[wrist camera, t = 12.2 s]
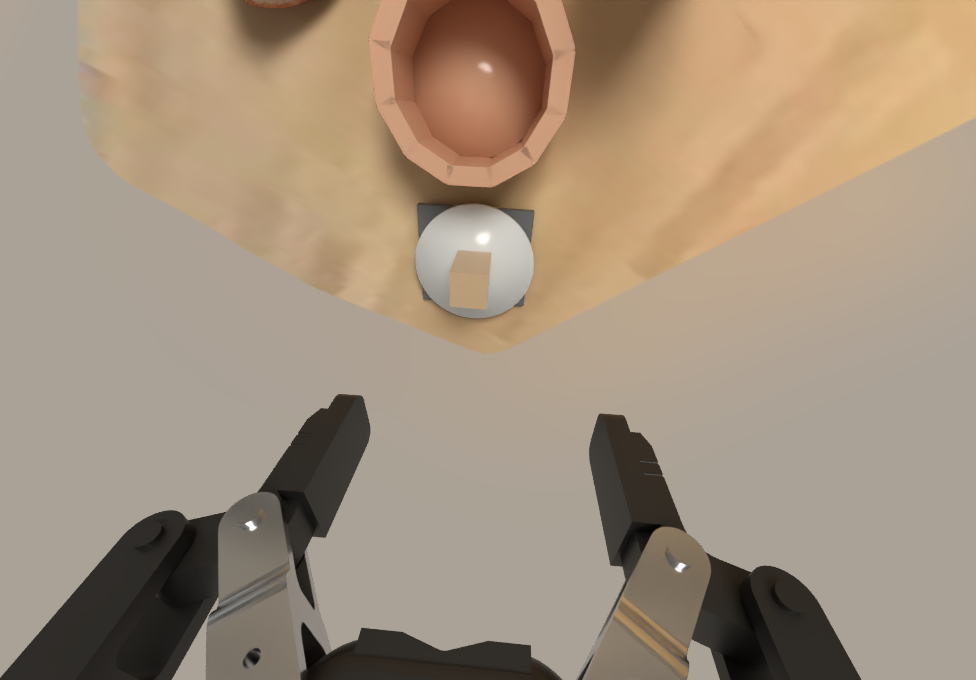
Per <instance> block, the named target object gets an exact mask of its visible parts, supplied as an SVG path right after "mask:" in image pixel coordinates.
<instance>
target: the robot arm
mask: <svg viewBox="0 0 976 680" xmlns="http://www.w3.org/2000/svg"><path fill="white" fill-rule="evenodd" d="M369 436H370V423H369V419H368V415H367V411H366V407H365V403H364V399H363V397H362V396H359V395H345V394H338V395H337V396H336V397H335V399H334V400H333V402H332V403H331V405H330V406H329V408H328V409H323V408H321V409H320V410H318V411H317V412H316V413H315V414H313V415H312V416H311V417H310V418H308V419H307V420H306V422H305V423H304V425H303V426H302V428H301V430H300V431H299V432H298V435H296V437H295V438H294V440H293V441H292V443H291V446H289V447H288V449H287V450H286V452H285V453H284V454H283V456H282V458H281V459H280V460H279V462H278V463H277V465H276V467H275V468H274V469H273V471H272V472H271V474H270V475H269V477H268V478H267V480H266V481H265V483H264V484H263V486H262V487H261V489H260V490H259V491H258V492H257V493H254V494H251V495H248V496H246V497H244V498H242V499H241V500H239V501H238V502H237V503H235V504H234V505H233V506H231V507H230V508H229V510H228V511H227V512H224V513H219V514H215V515H211V516H206V517H201V518H197V519H192V520H187V519H186V518H185V517H184V516H183V514H182V513H180V512H178V511H173V510H169V511H163V512H159V513H156V514H153V515H151V516H149V517H147V518H145V519H143V520H142V521H140V522H138V523H137V524H136V525H134V526H133V527H132V528H131V529H129V530H128V531H127V532H126V533H125V534H124V535H123V536H122V537H121V539H120V540H119V541H118V542H117V543H116V544H115V546H114V547H113V548H112V549H111V550H110V551H109V553H108V554H107V555H106V556H105V557H104V558H103V559H102V561H101V562H100V563H99V564H98V565H97V566H96V568H95V569H94V570H93V571H92V572H91V573H90V574H89V576H88V577H87V578H86V579H85V580H84V581H83V583H82V584H81V585H80V586H79V587H78V588H77V590H76V591H75V592H74V593H73V594H72V595H71V597H70V598H69V599H68V600H67V601H66V602H65V603H64V605H63V606H62V607H61V608H60V609H59V610H58V612H57V613H56V614H55V615H54V616H53V617H52V619H51V620H50V621H49V622H48V623H47V624H46V626H45V627H44V628H43V629H42V630H41V631H40V632H39V634H38V635H37V636H36V637H35V638H34V639H33V641H32V642H31V643H30V644H29V645H28V646H27V648H26V649H25V650H24V651H23V652H22V653H21V654H20V656H19V657H18V658H17V659H16V660H15V662H14V663H13V664H12V665H11V666H10V667H9V668H8V670H7V671H6V672H5V673H4V674H3V675H2V677H1V678H0V680H172V678H173V676H174V675H175V673H176V671H177V669H178V667H179V666H180V664H181V662H182V660H183V659H184V657H185V655H186V653H187V651H188V650H189V648H190V646H191V644H192V642H193V641H194V639H195V637H196V635H197V634H198V632H199V630H200V628H201V626H202V624H203V623H204V621H205V619H206V618H207V615H208V614H209V612H210V610H211V609H212V607H213V605H214V603H215V601H216V600H217V598H218V596H219V603H218V607H217V609H216V610H215V611H213V612H212V613H211V614H210V615H209V618H208V622H207V632H206V636H207V637H206V638H207V639H206V680H562V679H561V678H560V677H559V676H558V675H557V674H556V673H555V672H554V671H552V670H551V669H550V668H549V667H547V666H546V665H545V664H543V663H541V662H540V661H538V660H536V659H534V658H532V657H531V646H530V645H521V644H511V643H502V642H493V641H486V642H482V643H478V644H474V645H469V646H465V647H461V648H457V649H452V650H448V651H441V650H438V649H436V648H434V647H432V646H430V645H428V644H426V643H424V642H422V641H420V640H418V639H416V638H414V637H411V636H409V635H407V634H405V633H403V632H396V631H386V630H377V629H368V628H361V631H360V635H359V638H358V640H356V641H352V642H350V643H347V644H345V645H342V646H340V647H339V648H337V649H335V650H333V651H331V648H330V644H329V640H328V637H327V633H326V629H325V627H324V624H323V622H322V619H321V615H320V612H319V607H318V603H317V597H316V593H315V587H314V582H313V578H312V573H311V568H310V563H309V558H308V554H307V550H306V548H307V546H308V544H309V542H310V540H311V538H312V536H313V537H323V538H324V537H326V535H327V533H328V531H329V528H330V526H331V524H332V522H333V520H334V517H335V515H336V513H337V511H338V508H339V506H340V504H341V502H342V500H343V497H344V495H345V493H346V491H347V488H348V486H349V484H350V482H351V480H352V477H353V475H354V473H355V470H356V468H357V466H358V464H359V462H360V459H361V457H362V455H363V453H364V451H365V448H366V446H367V444H368V441H369ZM589 458H590V465H591V470H592V475H593V480H594V485H595V490H596V495H597V500H598V505H599V510H600V515H601V520H602V525H603V530H604V535H605V540H606V545H607V550H608V555H609V560H610V565H612V566H622V567H623V570H624V575H625V579H626V580H625V582H624V584H623V586H622V588H621V590H620V592H619V594H618V597H617V598H616V601H615V602H614V605H613V607H612V609H611V611H610V613H609V615H608V617H607V619H606V621H605V623H604V625H603V627H602V629H601V631H600V633H599V635H598V638H597V639H596V641H595V644H594V645H593V647H592V649H591V651H590V653H589V655H588V657H587V659H586V661H585V663H584V665H583V667H582V669H581V671H580V673H579V675H578V677H577V679H576V680H687V677H688V672H689V662H688V660H687V651H688V648H689V645H690V641H691V639H692V640H694V641H697V642H698V643H700V644H703V645H705V646H707V647H709V648H710V649H711V652H712V655H713V658H714V662H715V665H716V668H717V671H718V674H719V678H720V680H861V678H860V676H859V675H858V673H857V671H856V670H855V667H854V666H853V664H852V662H851V660H850V658H849V657H848V655H847V653H846V651H845V649H844V648H843V646H842V644H841V642H840V640H839V639H838V637H837V635H836V633H835V631H834V630H833V628H832V626H831V624H830V622H829V620H828V619H827V617H826V615H825V613H824V611H823V610H822V608H821V606H820V604H819V603H818V601H817V600H816V598H815V597H814V595H813V594H812V593H811V592H810V591H809V590H808V588H807V587H806V586H804V585H803V584H802V583H801V582H800V581H799V580H798V579H796V578H795V577H794V576H792V575H791V574H789V573H787V572H785V571H783V570H781V569H779V568H776V567H772V566H760V567H757V568H756V569H755V570H754V571H753V572H749V571H746V570H744V569H741V568H739V567H737V566H734V565H732V564H729V563H727V562H724V561H722V560H719V559H717V558H715V557H713V556H711V555H710V554H708V553H706V552H705V551H704V549H703V548H702V546H701V545H700V544H699V543H698V542H697V541H696V540H695V539H694V538H693V537H691V536H690V535H688V534H687V532H686V531H685V529H684V527H683V525H682V522H681V520H680V517H679V515H678V512H677V509H676V507H675V504H674V502H673V499H672V497H671V494H670V492H669V489H668V486H667V484H666V481H665V479H664V477H663V476H662V471H661V469H660V466H659V465H658V461H657V458H656V456H655V453H654V451H653V448H652V446H651V445H650V444H649V443H648V441H647V440H646V439H645V438H644V437H643V436H642V435H641V433H635V432H630V430H629V427H628V424H627V421H626V419H625V417H624V416H623V415H611V414H599V415H598V418H597V421H596V425H595V428H594V432H593V435H592V438H591V442H590V448H589Z"/></svg>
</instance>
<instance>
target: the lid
mask: <svg viewBox="0 0 976 680" xmlns="http://www.w3.org/2000/svg"><path fill="white" fill-rule="evenodd" d="M415 263H416V270H417V274H418V278H419V280H420V282H421V285H422V286H423V288H424V290H425V291H426V293H427V294H428V295H429V297H430V298H431V299H432V300H433V301H434V302H435V303H437V304H438V305H439V306H440V307H442V308H443V309H445V310H447V311H449V312H451V313H453V314H456V315H458V316H462V317H467V318H488V317H492V316H496V315H499V314H501V313H503V312H505V311H507V310H509V309H510V308H512V307H513V306H514V305H515V304H517V303H518V302H519V301H520V299H521V298H522V297H523V296H524V294H525V293H526V291H527V289H528V288H529V286H530V283H531V280H532V276H533V270H534V259H533V252H532V247H531V244H530V241H529V239H528V237H527V235H526V233H525V231H524V230H523V228H522V227H521V226H520V225H519V223H518V222H517V221H516V220H515V219H514V218H512V217H511V216H510V215H509V214H507V213H505V212H504V211H502V210H500V209H498V208H496V207H493V206H490V205H486V204H480V203H466V204H460V205H456V206H453V207H451V208H448V209H446V210H444V211H443V212H441V213H440V214H438V215H437V216H436V217H435V218H434V219H433V220H432V221H431V222H430V223H429V224H428V225H427V227H426V228H425V230H424V231H423V233H422V235H421V237H420V239H419V241H418V245H417V248H416V255H415Z"/></svg>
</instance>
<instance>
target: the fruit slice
mask: <svg viewBox="0 0 976 680" xmlns="http://www.w3.org/2000/svg"><path fill="white" fill-rule="evenodd" d="M244 1H246V2H247V3H248V4H250V5H253V6H256V7H265V8H268V9H270V8H287V7H292V6H296V5H298V4H301V3H303V2H305V1H307V0H244Z"/></svg>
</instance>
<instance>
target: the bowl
mask: <svg viewBox="0 0 976 680" xmlns="http://www.w3.org/2000/svg"><path fill="white" fill-rule="evenodd" d="M369 38H370V39H371V40H369V48H370V57H371V66H372V74H373V83H374V92H375V101H376V105H378V106H377V108H378V110H379V112H380V113H381V115H382V117H383V119H384V120H385V122H386V124H387V126H388V127H389V129H390V131H391V133H392V134H393V136H394V138H395V140H396V141H397V143H398V145H399V147H400V148H401V150H402V152H403V154H404V155H405V156H406V155H407V156H406V158H408V159H409V160H411V161H412V162H414V163H415V164H417V165H418V166H420V167H421V168H423V169H424V170H426V171H427V172H429V173H430V174H431V175H433V176H434V177H436V178H437V179H439V180H440V181H442V182H443V183H445V184H447V185H458V186H475V187H491V188H492V186H493V187H494V186H496V185H498V184H500V183H502V182H504V181H505V180H507V179H509V178H511V177H513V176H515V175H516V174H518V173H520V172H522V171H524V170H526V169H527V168H529V167H531V166H533V165H534V163H536V162H537V161H538V159H539V158H540V156H541V154H542V153H543V151H544V150H545V148H546V147H547V145H548V144H549V142H550V141H551V139H552V137H553V136H554V134H555V133H556V131H557V130H558V128H559V127H560V125H561V124H562V122H563V120H564V119H565V116H564V115H567V108H568V101H569V94H570V87H571V80H572V73H573V66H574V60H575V53H576V51H575V50H574V49H575V44H574V41H573V37H572V34H571V31H570V27H569V24H568V20H567V17H566V14H565V10H564V7H563V3H562V0H381V2H380V5H379V8H378V11H377V14H376V17H375V20H374V23H373V26H372V30H371V33H370V36H369ZM533 162H534V163H533Z"/></svg>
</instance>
